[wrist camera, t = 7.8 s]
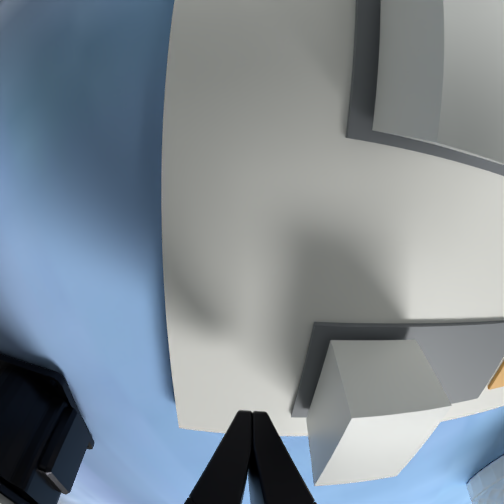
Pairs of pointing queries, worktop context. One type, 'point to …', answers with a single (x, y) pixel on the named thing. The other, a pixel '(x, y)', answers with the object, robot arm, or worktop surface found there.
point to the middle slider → (443, 74)
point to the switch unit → (312, 218)
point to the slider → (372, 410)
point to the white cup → (488, 484)
